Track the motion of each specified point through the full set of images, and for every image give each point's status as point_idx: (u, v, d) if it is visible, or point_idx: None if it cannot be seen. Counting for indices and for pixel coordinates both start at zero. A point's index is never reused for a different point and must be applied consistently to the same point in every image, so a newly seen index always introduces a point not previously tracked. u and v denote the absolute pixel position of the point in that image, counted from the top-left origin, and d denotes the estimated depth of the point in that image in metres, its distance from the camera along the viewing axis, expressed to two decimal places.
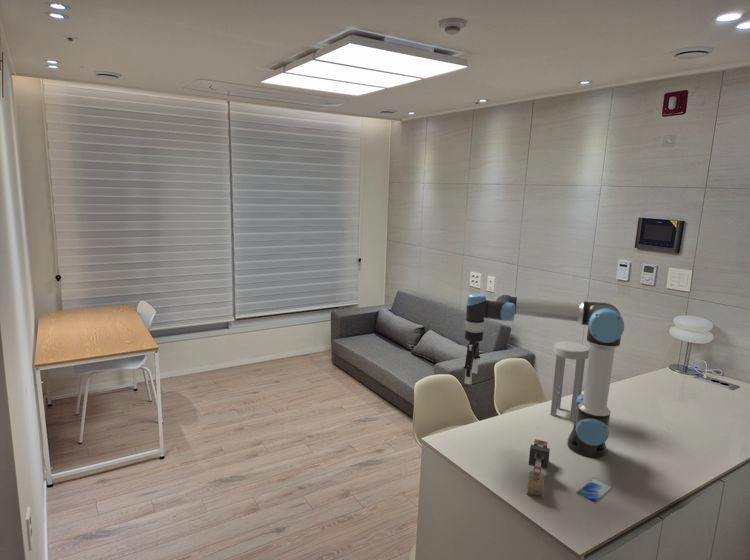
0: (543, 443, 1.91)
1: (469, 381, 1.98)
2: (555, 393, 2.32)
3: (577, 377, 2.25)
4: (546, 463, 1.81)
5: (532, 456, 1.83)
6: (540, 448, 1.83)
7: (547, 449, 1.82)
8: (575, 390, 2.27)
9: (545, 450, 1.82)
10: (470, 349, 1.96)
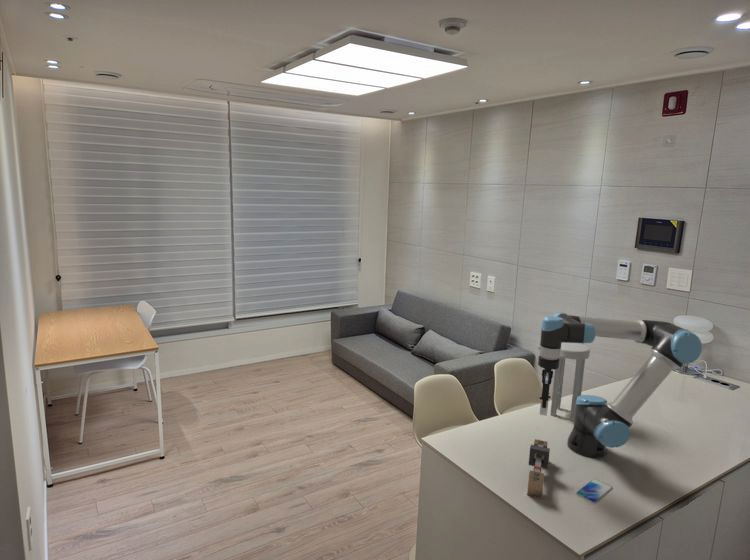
0: (543, 443, 1.91)
1: (545, 412, 1.86)
2: (555, 393, 2.32)
3: (577, 377, 2.25)
4: (546, 463, 1.81)
5: (532, 456, 1.83)
6: (540, 448, 1.83)
7: (547, 449, 1.82)
8: (575, 390, 2.27)
9: (545, 450, 1.82)
10: (546, 383, 1.79)
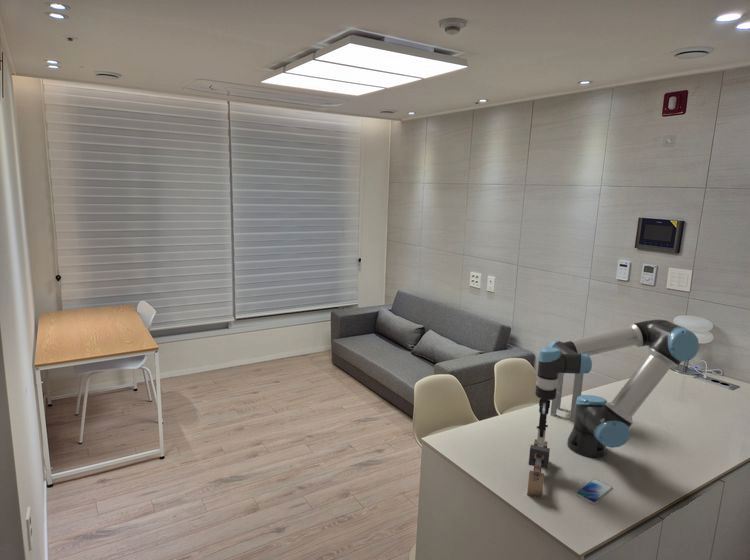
0: None
1: (542, 441, 1.88)
2: None
3: (577, 377, 2.25)
4: (546, 463, 1.81)
5: (532, 456, 1.83)
6: (540, 448, 1.83)
7: (547, 449, 1.82)
8: (575, 390, 2.27)
9: (545, 450, 1.82)
10: (543, 413, 1.81)
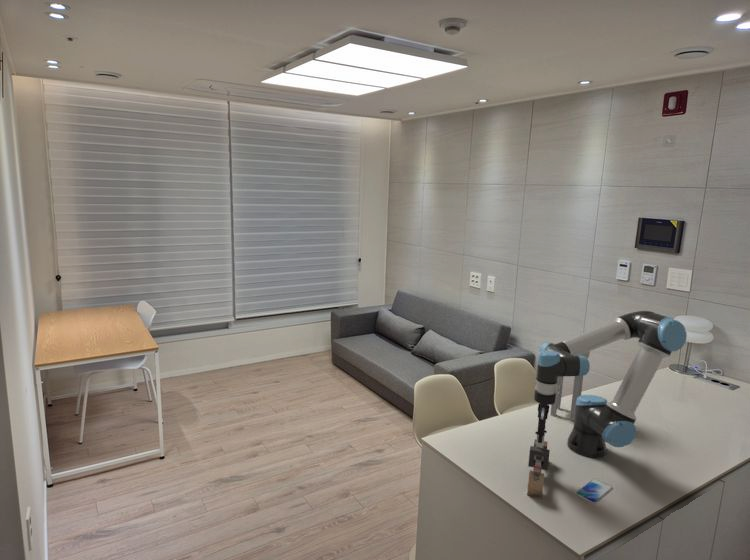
0: None
1: (541, 447, 1.83)
2: (555, 393, 2.32)
3: (577, 377, 2.25)
4: (546, 464, 1.80)
5: (532, 457, 1.82)
6: (540, 449, 1.82)
7: (547, 450, 1.81)
8: (575, 390, 2.27)
9: (544, 451, 1.81)
10: (542, 419, 1.76)
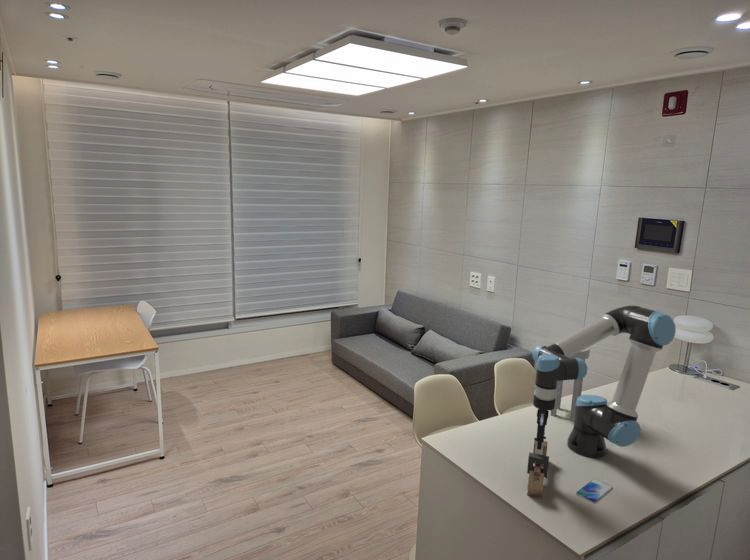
0: None
1: (540, 453, 1.78)
2: None
3: None
4: (545, 472, 1.75)
5: (531, 464, 1.77)
6: (539, 456, 1.77)
7: (546, 457, 1.76)
8: (575, 390, 2.27)
9: (544, 458, 1.76)
10: (541, 425, 1.71)
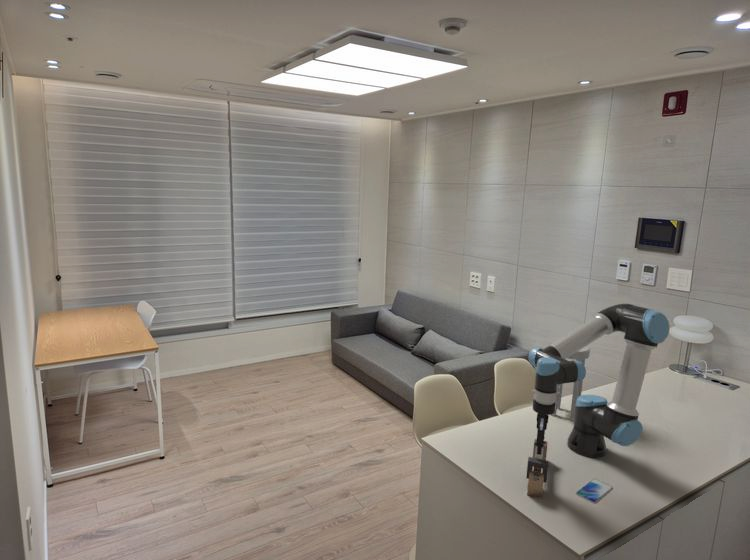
0: None
1: (540, 458, 1.75)
2: None
3: None
4: (545, 477, 1.72)
5: (530, 469, 1.74)
6: (538, 461, 1.74)
7: (546, 462, 1.73)
8: (575, 390, 2.27)
9: (543, 462, 1.73)
10: (541, 429, 1.68)
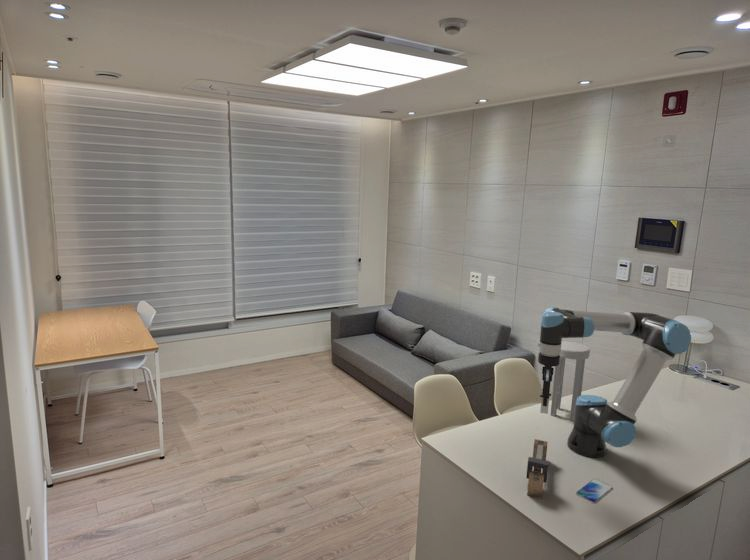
0: (543, 443, 1.91)
1: (546, 410, 1.81)
2: (555, 393, 2.32)
3: (577, 377, 2.25)
4: (545, 477, 1.72)
5: (530, 469, 1.74)
6: (538, 461, 1.74)
7: (546, 462, 1.73)
8: (575, 390, 2.27)
9: (543, 462, 1.73)
10: (547, 380, 1.74)
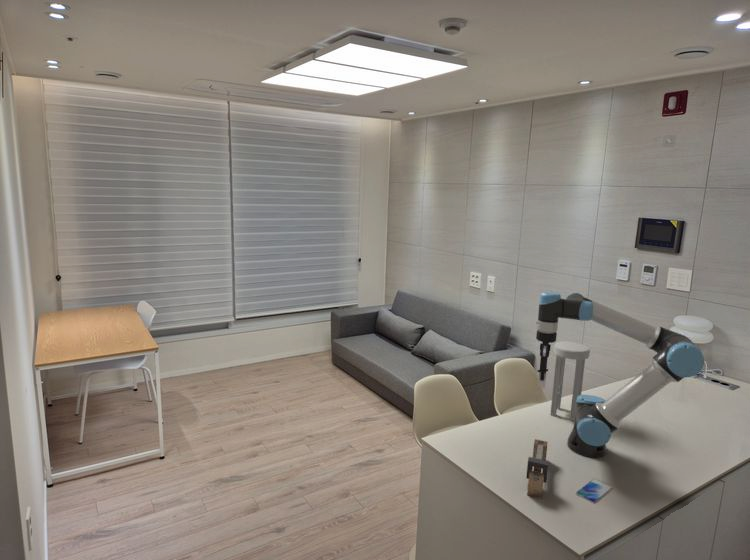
0: (543, 443, 1.91)
1: (543, 384, 1.93)
2: (555, 393, 2.32)
3: (577, 377, 2.25)
4: (545, 477, 1.72)
5: (530, 469, 1.74)
6: (538, 461, 1.74)
7: (546, 462, 1.73)
8: (575, 390, 2.27)
9: (543, 462, 1.73)
10: (544, 355, 1.86)
